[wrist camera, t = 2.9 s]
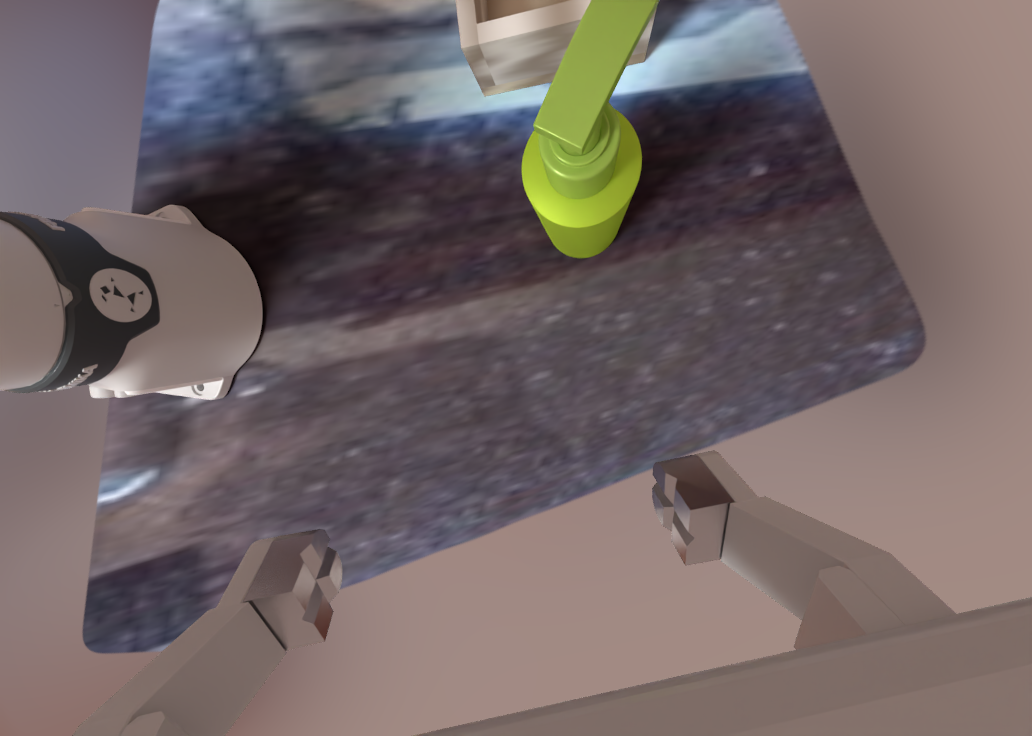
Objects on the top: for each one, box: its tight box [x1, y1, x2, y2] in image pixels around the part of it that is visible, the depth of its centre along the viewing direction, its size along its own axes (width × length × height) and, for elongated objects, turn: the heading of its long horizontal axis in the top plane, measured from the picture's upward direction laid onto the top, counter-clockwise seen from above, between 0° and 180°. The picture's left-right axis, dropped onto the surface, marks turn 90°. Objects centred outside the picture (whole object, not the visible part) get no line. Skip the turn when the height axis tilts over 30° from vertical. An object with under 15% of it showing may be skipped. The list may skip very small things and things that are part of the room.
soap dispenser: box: [522, 0, 659, 258], centre depth 23 cm, size 6×7×20 cm
